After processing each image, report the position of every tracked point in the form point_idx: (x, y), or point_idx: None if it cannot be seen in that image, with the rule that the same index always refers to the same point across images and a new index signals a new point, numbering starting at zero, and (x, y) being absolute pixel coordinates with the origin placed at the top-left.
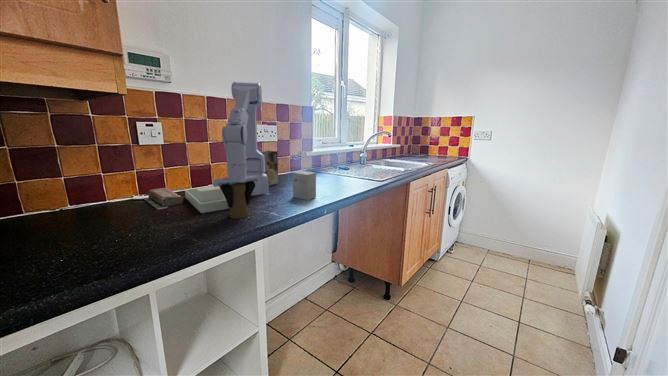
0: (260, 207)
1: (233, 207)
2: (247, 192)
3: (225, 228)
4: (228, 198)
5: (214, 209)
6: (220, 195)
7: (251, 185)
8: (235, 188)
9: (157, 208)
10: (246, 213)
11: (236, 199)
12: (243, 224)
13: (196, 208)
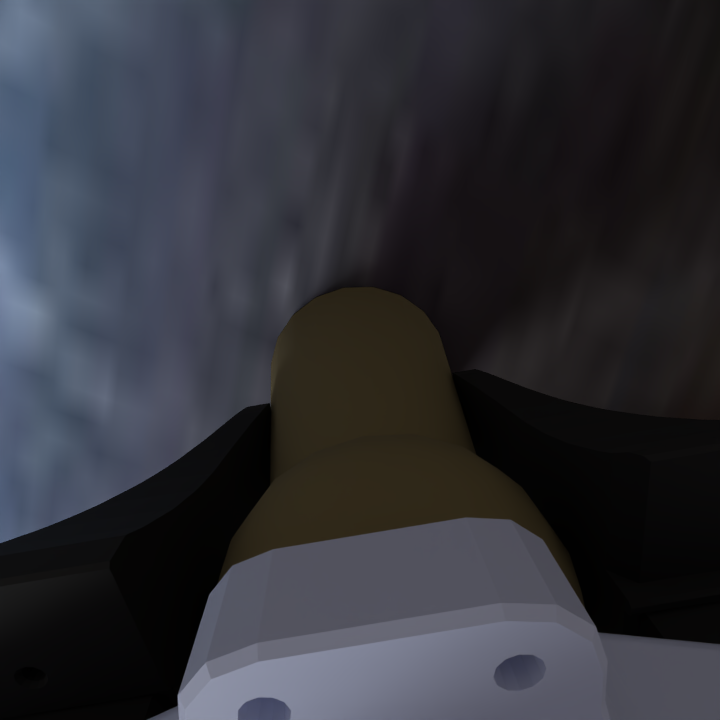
0: None
1: (440, 362)
2: (219, 499)
3: (570, 44)
4: (555, 400)
5: None
6: None
7: (42, 553)
8: (498, 499)
9: None
10: (298, 322)
11: (423, 393)
12: (378, 83)
13: None
